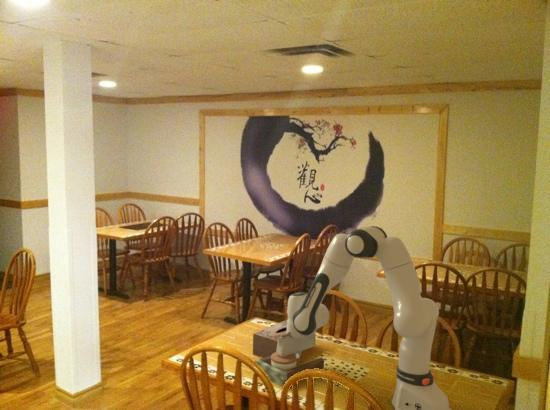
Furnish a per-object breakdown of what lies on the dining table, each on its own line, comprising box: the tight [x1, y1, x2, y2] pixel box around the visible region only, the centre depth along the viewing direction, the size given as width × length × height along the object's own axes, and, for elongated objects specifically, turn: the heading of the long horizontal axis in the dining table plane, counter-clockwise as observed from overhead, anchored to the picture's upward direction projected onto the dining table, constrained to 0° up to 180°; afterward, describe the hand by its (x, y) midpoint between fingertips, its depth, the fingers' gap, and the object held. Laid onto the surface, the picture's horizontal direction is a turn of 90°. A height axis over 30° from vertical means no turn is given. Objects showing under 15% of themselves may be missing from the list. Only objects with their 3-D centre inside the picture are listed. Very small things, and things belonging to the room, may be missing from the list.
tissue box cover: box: [252, 319, 288, 359], centre depth 230 cm, size 26×14×10 cm, turn 143°
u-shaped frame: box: [254, 353, 325, 388], centre depth 208 cm, size 17×24×5 cm
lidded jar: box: [271, 352, 297, 372], centre depth 204 cm, size 11×11×9 cm
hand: (295, 361), depth 210 cm, fingers closed
